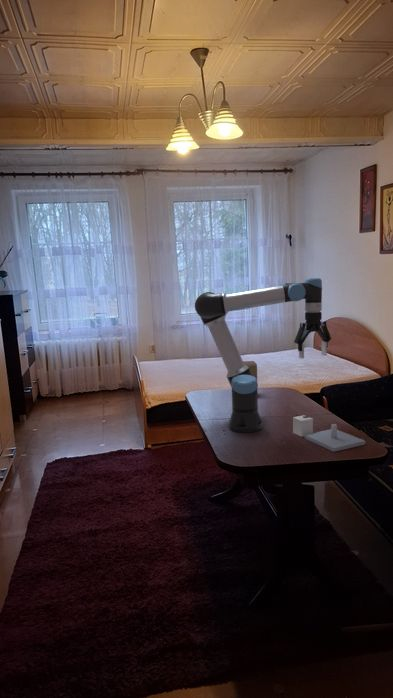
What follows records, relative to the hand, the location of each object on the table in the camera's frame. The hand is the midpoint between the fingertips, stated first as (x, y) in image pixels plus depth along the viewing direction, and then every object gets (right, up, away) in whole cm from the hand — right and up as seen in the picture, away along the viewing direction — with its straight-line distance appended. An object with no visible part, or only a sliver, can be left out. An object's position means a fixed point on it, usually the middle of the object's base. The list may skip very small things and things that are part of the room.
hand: (312, 356), depth 217 cm
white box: (-9, -33, -17) cm, 38 cm away
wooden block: (-25, -24, +49) cm, 60 cm away
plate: (+2, -34, -28) cm, 44 cm away
